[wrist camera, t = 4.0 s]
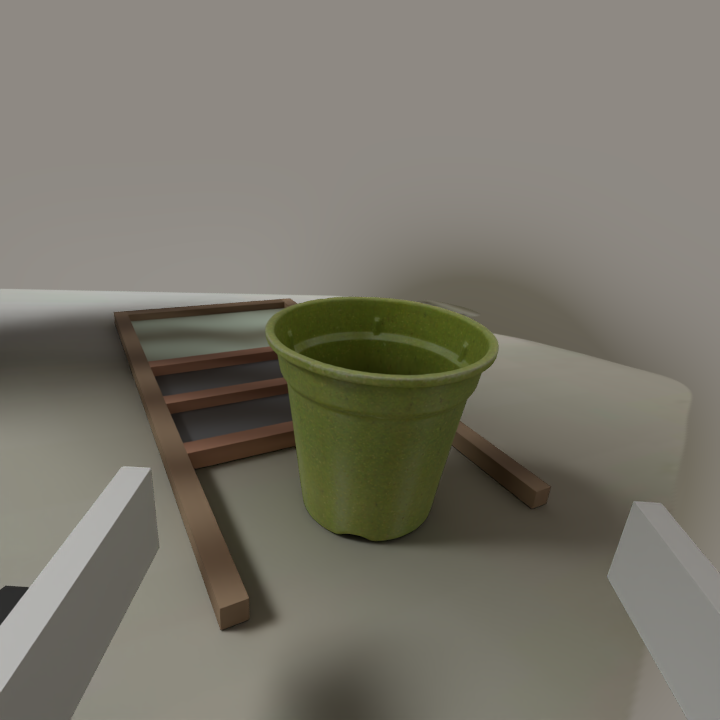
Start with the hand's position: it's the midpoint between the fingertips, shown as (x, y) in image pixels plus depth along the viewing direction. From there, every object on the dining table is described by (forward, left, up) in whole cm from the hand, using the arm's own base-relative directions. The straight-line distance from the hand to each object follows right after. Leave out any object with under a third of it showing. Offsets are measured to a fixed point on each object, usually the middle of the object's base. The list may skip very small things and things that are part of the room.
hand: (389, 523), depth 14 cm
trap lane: (-20, +4, -6) cm, 21 cm away
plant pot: (-7, +4, -6) cm, 10 cm away
